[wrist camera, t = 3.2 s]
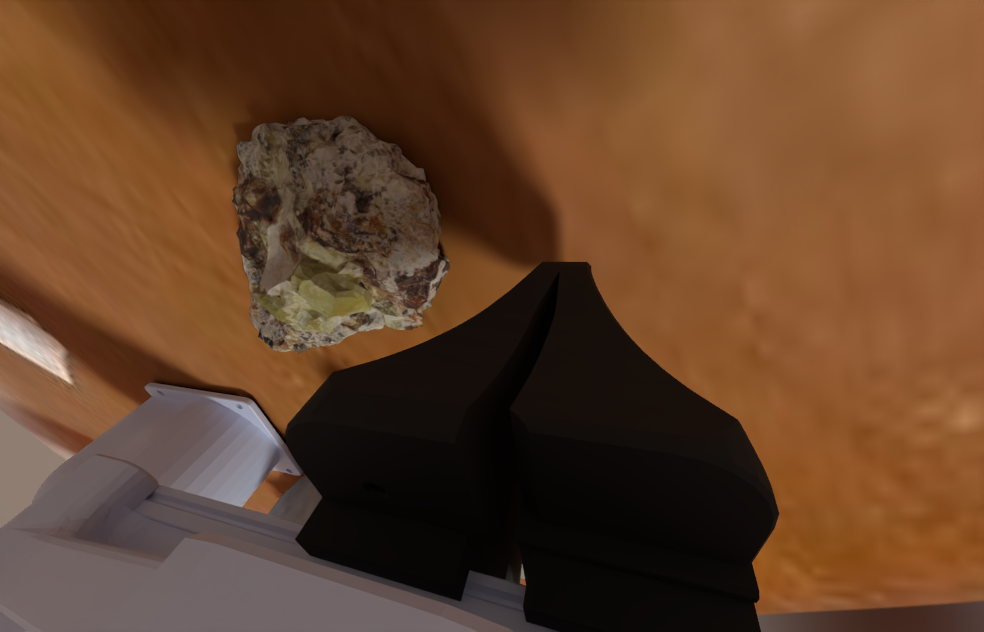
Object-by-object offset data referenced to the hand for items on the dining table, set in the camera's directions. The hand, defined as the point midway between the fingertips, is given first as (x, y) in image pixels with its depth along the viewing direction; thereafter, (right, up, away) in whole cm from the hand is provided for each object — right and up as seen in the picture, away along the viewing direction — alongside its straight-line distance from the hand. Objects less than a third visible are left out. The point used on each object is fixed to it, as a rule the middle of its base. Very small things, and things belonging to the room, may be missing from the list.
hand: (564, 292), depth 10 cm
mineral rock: (-8, +2, +4) cm, 9 cm away
